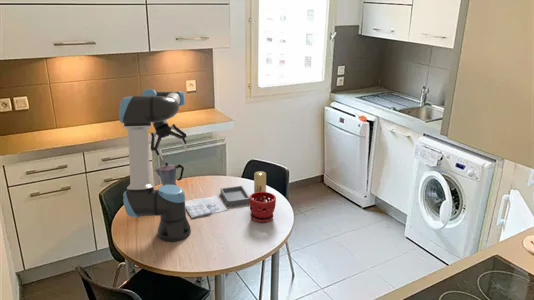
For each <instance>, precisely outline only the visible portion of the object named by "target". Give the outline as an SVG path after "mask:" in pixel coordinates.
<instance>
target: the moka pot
mask: <svg viewBox="0 0 534 300" xmlns="http://www.w3.org/2000/svg"><path fill="white" fill-rule="evenodd" d="M177 169H180V174H179V175H180V176H179V178H177ZM184 170H185V168H184V166H183V165H182V164H169V163H168V162H164V164H163V165H160V166H159V167H157V168H156V169H155V170H154V171H155V173H156V174H157V175H158V176H159V178H160V181H161V183H162V185H161V186H164V185H176V186H178V184H177V181H181V180H182V178H183V174H184Z"/></svg>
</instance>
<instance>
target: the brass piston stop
mask: <svg viewBox="0 0 534 300" xmlns="http://www.w3.org/2000/svg"><path fill="white" fill-rule="evenodd" d="M253 174H254V175H253V176H254V177H253V181H254V182H253V186H254V187H253V190H254V191H253V193H256V192H267V173H266V172H265V171H255V172H254V173H253ZM264 198H265V196H264ZM256 199H257V198H256ZM261 199H262V198H260V200H261ZM258 202H259V201H258ZM263 202H267V200H266V199H264V200H263Z"/></svg>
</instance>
